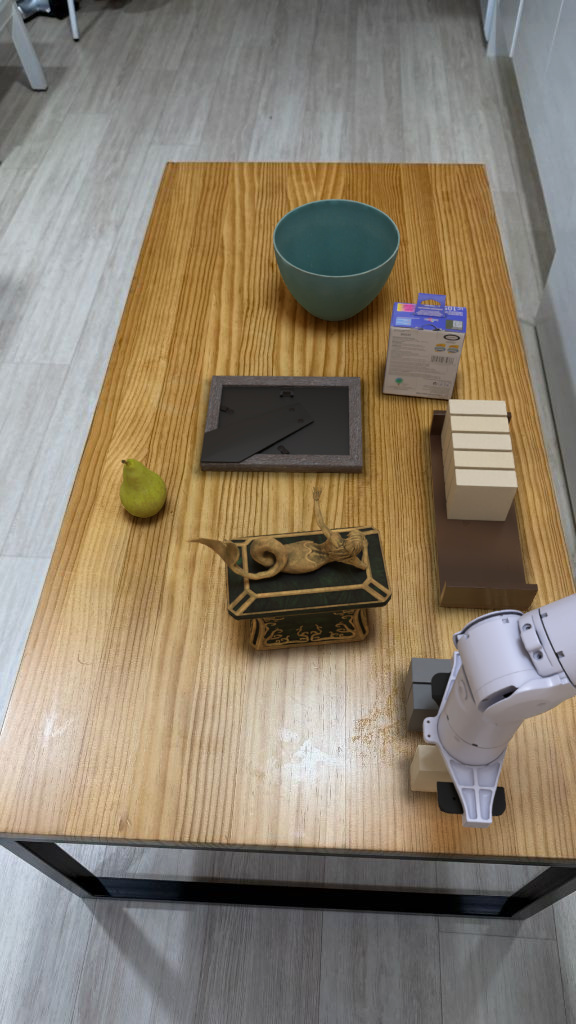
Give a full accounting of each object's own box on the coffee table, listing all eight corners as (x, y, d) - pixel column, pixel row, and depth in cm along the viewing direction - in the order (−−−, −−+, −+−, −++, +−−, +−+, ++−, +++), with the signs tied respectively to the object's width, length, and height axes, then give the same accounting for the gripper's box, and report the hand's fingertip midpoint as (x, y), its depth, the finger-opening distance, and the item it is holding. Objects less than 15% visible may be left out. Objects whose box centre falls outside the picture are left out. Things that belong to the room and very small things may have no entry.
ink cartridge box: (454, 373, 107) (472, 291, 95) (452, 401, 104) (471, 320, 92) (385, 367, 108) (394, 285, 97) (382, 394, 105) (391, 313, 93)
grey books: (479, 734, 77) (491, 712, 72) (406, 731, 78) (413, 708, 72) (474, 685, 80) (486, 660, 75) (404, 682, 81) (411, 657, 75)
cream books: (504, 521, 91) (518, 487, 86) (447, 519, 92) (456, 485, 86) (493, 437, 99) (505, 400, 94) (440, 435, 100) (448, 399, 94)
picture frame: (202, 470, 98) (361, 473, 97) (200, 461, 96) (362, 463, 96) (213, 383, 107) (359, 384, 106) (212, 373, 106) (360, 374, 105)
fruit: (165, 485, 97) (149, 423, 87) (174, 520, 94) (159, 460, 84) (121, 496, 96) (100, 435, 86) (129, 532, 93) (108, 473, 83)
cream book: (481, 794, 74) (496, 774, 68) (410, 790, 74) (419, 770, 68) (479, 770, 75) (493, 748, 69) (410, 766, 76) (418, 744, 70)
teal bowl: (415, 301, 117) (426, 232, 107) (339, 361, 109) (342, 293, 99) (329, 253, 124) (331, 184, 114) (251, 307, 117) (246, 238, 107)
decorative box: (371, 570, 89) (385, 467, 73) (385, 644, 83) (403, 550, 67) (203, 585, 88) (180, 485, 72) (206, 661, 83) (181, 570, 66)
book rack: (527, 610, 85) (538, 590, 81) (439, 607, 86) (446, 586, 82) (503, 436, 100) (511, 411, 96) (428, 434, 101) (433, 409, 97)
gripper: (426, 627, 63) (408, 688, 74) (436, 805, 55) (414, 843, 66) (510, 630, 63) (480, 691, 74) (533, 810, 55) (494, 848, 66)
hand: (454, 763), depth 70 cm, fingers open, 7 cm apart
